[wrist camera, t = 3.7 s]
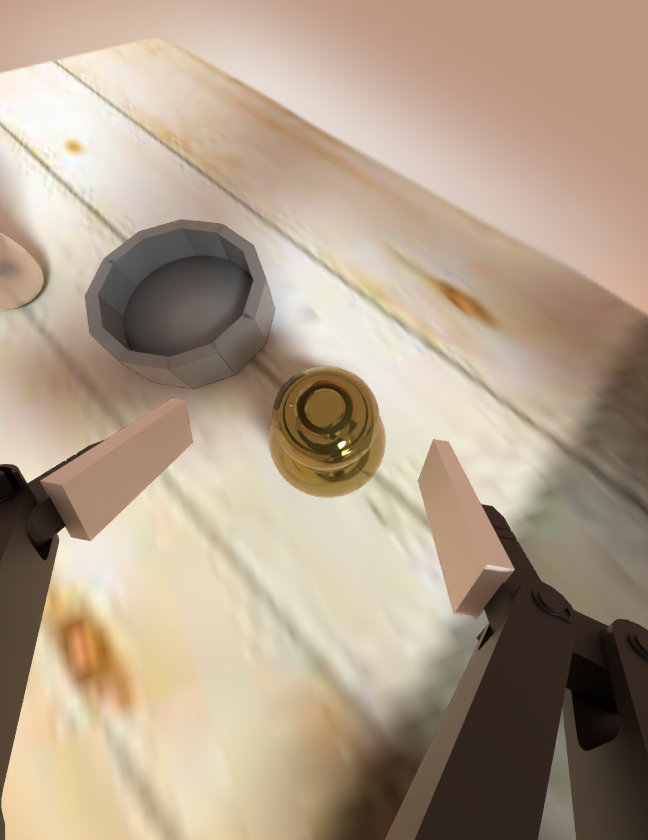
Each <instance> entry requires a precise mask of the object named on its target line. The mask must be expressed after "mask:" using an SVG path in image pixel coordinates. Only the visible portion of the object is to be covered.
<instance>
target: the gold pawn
mask: <svg viewBox="0 0 648 840" xmlns="http://www.w3.org/2000/svg"><path fill="white" fill-rule="evenodd" d="M385 445H386V437H385V430H384V425H383V422H382V420H381V417H380V415H379V409H378V404H377V401H376V399H375V396H374V394H373V393H372V391H371V389H370V388H369V387H368V385H367V384H366V383H365V382H364V381H363V380H362V379H360V378H359V377H358V376H356V375H355V374H353V373H351V372H349V371H347V370H344V369H341V368H337V367H331V366H320V367H314V368H310V369H307V370H304V371H302V372H300V373H298V374H297V375H295V376H294V377H292V378H291V379H290V380H289V381H288V382H287V383H286V384H285V385H284V386H283V387H282V389H281V390H280V392H279V393H278V395H277V397H276V400H275V403H274V406H273V412H272V423H271V427H270V433H269V447H270V453H271V457H272V460H273V462H274V464H275V466H276V468H277V470H278V471H279V473H280V474H281V476H282V477H283V478H284V479H285V480H286V481H287V482H288V483H289V484H290V485H292V486H293V487H294V488H296V489H298V490H299V491H301V492H303V493H306V494H308V495H312V496H316V497H323V498H333V497H340V496H344V495H347V494H350V493H352V492H354V491H356V490H358V489H359V488H361V487H362V486H364V485H365V484H366V483H367V482H368V481H369V480H370V479H371V478H372V477H373V476H374V474H375V473H376V472H377V470H378V468H379V466H380V464H381V462H382V459H383V456H384V452H385Z"/></svg>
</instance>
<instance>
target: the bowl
mask: <svg viewBox="0 0 648 840" xmlns="http://www.w3.org/2000/svg"><path fill="white" fill-rule="evenodd" d="M85 300H86V308H87V316H88V324H89V332H90V335H91V336H93V337H94V338H95V339H96V340H97V341H98V342H99V343H100V344H101V345H102V346H103V347H104V348H105V349H106V350H107V351H109V352H110V353H111V354H112V355H113V356H114V357H115V358H116V359H117V360H118V361H119V362H121V363H122V364H124V365H125V366H127V367H128V368H130V369H132V370H133V371H135V372H136V373H138V374H140V375H141V376H143V377H144V378H146V379H148V380H149V381H151V382H154V383H160V384H167V385H173V386H179V387H185V388H191V389H194V388H197V387H200V386H203V385H206V384H209V383H212V382H215V381H218V380H221V379H224V378H227V377H230V376H233V375H235V374H237V373H238V372H239V371H240V370H241V369H242V368H243V367H244V366H245V365H246V364H247V363H248V362H249V361H250V360H251V359H252V358H253V357H254V356H255V355H256V354H257V353H258V352H259V351H260V350H261V349H262V348H263V347H264V346H265V344H266V342H267V338H268V334H269V331H270V327H271V323H272V320H273V316H274V312H275V307H274V303H273V300H272V297H271V293H270V290H269V287H268V283H267V280H266V277H265V274H264V272H263V269H262V266H261V264H260V261H259V258H258V255H257V253H256V250H255V247H254V245H253V244H251V243H250V242H248V241H247V240H245V239H244V238H242V237H241V236H240V235H238V234H237V233H235V232H234V231H232V230H231V229H229V228H228V227H226V226H225V225H223V224H218V223H209V222H200V221H192V220H183V219H182V220H178V221H174V222H171V223H167V224H164V225H160V226H157V227H153V228H150V229H146V230H143V231H139V232H138V233H136V234H135V235H134V236H133V237H131V238H130V239H129V240H127V241H126V242H125V243H123V244H122V245H121V246H119V247H118V248H117V249H116V250H114V251H113V252H112V253H110V254H109V255H108V256H106V257H105V258H104V259H103V261H102V263H101V265H100V267H99V269H98V271H97V273H96V275H95V277H94V279H93V281H92V283H91V285H90V287H89V289H88V291H87V293H86V295H85Z"/></svg>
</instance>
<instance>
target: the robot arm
mask: <svg viewBox="0 0 648 840" xmlns="http://www.w3.org/2000/svg"><path fill="white" fill-rule="evenodd" d="M192 443H193V440H192V434H191V428H190V422H189V416H188V410H187V404H186V400H182V399H175V398H172V399H170V400H168V401H167V402H165V403H164V404H162V405H160V406H159V407H157V408H156V409H154V410H152V411H151V412H149V413H148V414H146V415H144V416H143V417H141V418H140V419H138V420H136V421H135V422H133V423H132V424H130V425H128V426H127V427H125V428H124V429H122V430H120V431H119V432H117V433H116V434H114V435H112V436H111V437H109V438H108V439H106V440H103V441H100V442H98V443H95V444H93V445H90V446H88V447H86V448H85V449H83V450H81V451H80V452H78V453H77V455H73V456H72V457H70V458H68V459H67V461H63V462H62V463H60V464H59V465H57V466H55V467H54V468H52V469H50V470H49V471H47V472H45V473H44V474H42V475H41V476H39V477H37V478H36V479H34V480H32V481H31V482H29V483H27V482H26V480H25V479H24V477H23V475H22V474H21V472H20V470H19V469H18V467H16V466H15V465H11V464H1V465H0V840H5V822H4V818H3V814H2V809H1V798H2V792H3V787H4V782H5V778H6V774H7V769H8V765H9V760H10V756H11V751H12V747H13V743H14V738H15V734H16V729H17V725H18V721H19V716H20V712H21V707H22V703H23V699H24V694H25V690H26V685H27V681H28V677H29V672H30V668H31V663H32V659H33V654H34V650H35V646H36V641H37V637H38V632H39V628H40V624H41V619H42V615H43V610H44V606H45V602H46V597H47V593H48V588H49V584H50V579H51V575H52V571H53V566H54V562H55V557H56V553H57V549H58V544H59V536H58V535H57V533H58V532H59V531H60V530H61V529H63V528H64V527H66V529H67V530H68V532H69V534H70V536H71V537H73V538H78V539H83V540H88V541H91V540H92V539H93V538H94V537H95V536H96V535H97V534H98V533H99V532H100V531H101V530H102V529H104V528H105V527H106V526H107V525H108V524H109V523H110V522H111V521H112V520H113V519H114V518H115V517H116V516H117V515H118V514H119V513H120V512H121V511H122V510H123V509H124V508H125V507H126V506H127V505H128V504H130V503H131V502H132V501H133V500H134V499H135V498H136V497H137V496H138V495H139V494H140V493H141V492H142V491H143V490H144V489H145V488H146V487H147V486H148V485H149V484H150V483H151V482H152V481H153V480H154V479H156V478H157V477H158V476H159V475H160V474H161V473H162V472H163V471H164V470H165V469H166V468H167V467H168V466H169V465H170V464H171V463H172V462H173V461H174V460H175V459H176V458H177V457H178V456H179V455H180V454H182V453H183V452H184V451H185V450H186V449H187V448H188V447H189V446H190V445H191V444H192ZM418 482H419V486H420V490H421V494H422V497H423V501H424V505H425V509H426V512H427V516H428V520H429V524H430V527H431V531H432V535H433V539H434V542H435V546H436V550H437V554H438V557H439V561H440V565H441V569H442V572H443V576H444V580H445V584H446V587H447V591H448V595H449V599H450V602H451V606H452V610H453V614H456V615H461V616H466V617H471V618H476V619H477V618H478V617H479V615H480V614H481V613H482V611H483V610H485V612H486V615H487V618H488V621H489V624H488V625H487V626H486V627H485V628H484V630H483V631H482V632H481V633H480V634H479V636H478V637H477V639H478V640H479V642H478V644H477V646H476V648H475V650H474V653H473V655H472V657H471V659H470V661H469V663H468V665H467V667H466V669H465V672H464V674H463V676H462V678H461V680H460V682H459V684H458V686H457V688H456V690H455V693H454V695H453V697H452V699H451V701H450V703H449V705H448V707H447V709H446V712H445V714H444V716H443V718H442V720H441V722H440V724H439V726H438V728H437V731H436V733H435V735H434V737H433V739H432V741H431V743H430V745H429V747H428V750H427V752H426V754H425V756H424V758H423V760H422V762H421V764H420V766H419V769H418V771H417V773H416V775H415V777H414V779H413V781H412V783H411V785H410V788H409V790H408V792H407V794H406V796H405V798H404V800H403V802H402V804H401V806H400V809H399V811H398V813H397V815H396V817H395V819H394V821H393V823H392V825H391V828H390V830H389V832H388V834H387V836H386V838H385V840H538V835H539V830H540V824H541V819H542V814H543V808H544V803H545V797H546V792H547V787H548V781H549V776H550V770H551V765H552V760H553V754H554V749H555V743H556V738H557V733H558V727H559V722H560V716H561V711H562V707H563V717H564V726H565V736H566V745H567V755H568V765H569V774H570V784H571V793H572V803H573V812H574V822H575V832H576V840H648V630H647V629H645V628H643V627H642V626H640V625H639V624H636V623H634V622H631V621H629V620H624V619H617V620H616V621H614V622H613V623H612V624H610V625H609V626H607V625H605V624H603V623H600V622H598V621H596V620H594V619H592V618H590V617H588V616H585V615H583V614H581V613H579V612H577V611H575V610H573V608H572V606H571V605H570V603H569V602H568V601H567V600H566V599H565V598H564V597H563V595H561V594H560V593H559V592H558V591H556V590H555V589H554V588H553V587H551V586H549V585H547V584H546V583H544V582H542V581H541V580H540V578H539V577H538V575H537V573H536V571H535V570H534V568H533V566H532V565H531V563H530V561H529V560H528V558H527V556H526V554H525V553H524V551H523V549H522V548H521V546H520V544H519V542H517V541H516V540H517V539H516V537H515V536H514V534H513V532H511V529H510V527H509V525H508V524H507V522H506V520H505V518H504V517H503V516H502V515H501V514H500V513H499V512H498V511H497V510H496V509H495V508H494V507H493V506H488V505H483V504H481V503H480V501H479V499H478V498H477V496H476V494H475V492H474V490H473V488H472V486H471V484H470V482H469V480H468V478H467V476H466V474H465V472H464V470H463V468H462V467H461V465H460V463H459V461H458V459H457V457H456V455H455V453H454V451H453V449H452V447H451V445H450V443H449V442H447V441H441V440H434V439H433V441H432V444H431V447H430V449H429V452H428V455H427V458H426V460H425V463H424V466H423V468H422V471H421V474H420V477H419V479H418Z"/></svg>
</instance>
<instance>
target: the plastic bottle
mask: <svg viewBox="0 0 648 840" xmlns="http://www.w3.org/2000/svg"><path fill="white" fill-rule="evenodd" d="M43 284H44V275H43V272H42V270H41V268H40V265H39V264H38V262H37V261H36V260H35V259H34V258H33V257H32V256H31V255H30V254H29V253H28V252H27V251H26V250H25V249H24V248H23V247H22V246H20V245H19V244H18V243H16V242H15V241H13V240H12V239H10V238H9V237H7V236H6V235H4V234H3V233H1V232H0V310H10V309H15V308H18V307H21V306H23V305H25V304H27V303H29V302H30V301H31V300H33V299H34V298H35V297H36V296H37V295H38V294H39V292H40V291H41V289H42V287H43Z"/></svg>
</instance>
